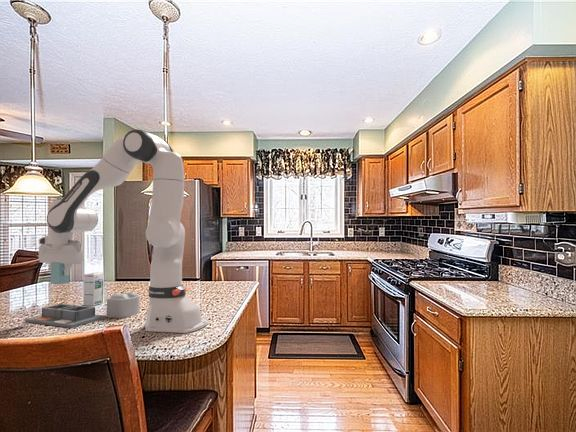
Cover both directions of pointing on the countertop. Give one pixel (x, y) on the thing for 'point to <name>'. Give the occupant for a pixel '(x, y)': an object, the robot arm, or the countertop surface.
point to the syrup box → (93, 289)
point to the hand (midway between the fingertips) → (60, 275)
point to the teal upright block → (58, 274)
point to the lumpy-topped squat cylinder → (123, 304)
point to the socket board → (66, 316)
